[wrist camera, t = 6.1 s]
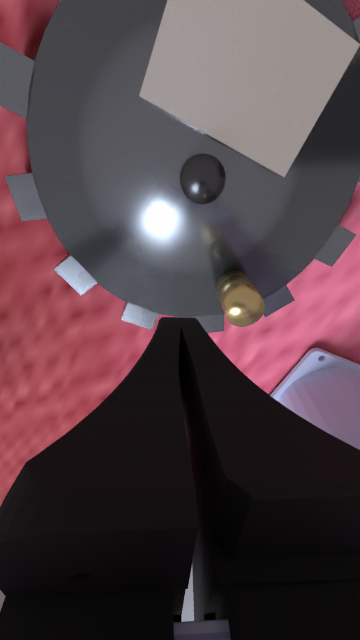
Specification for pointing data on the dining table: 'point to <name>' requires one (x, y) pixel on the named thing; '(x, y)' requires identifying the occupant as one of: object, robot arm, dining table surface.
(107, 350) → the dining table surface
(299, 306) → the dining table surface
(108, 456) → the robot arm
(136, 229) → the sprocket
